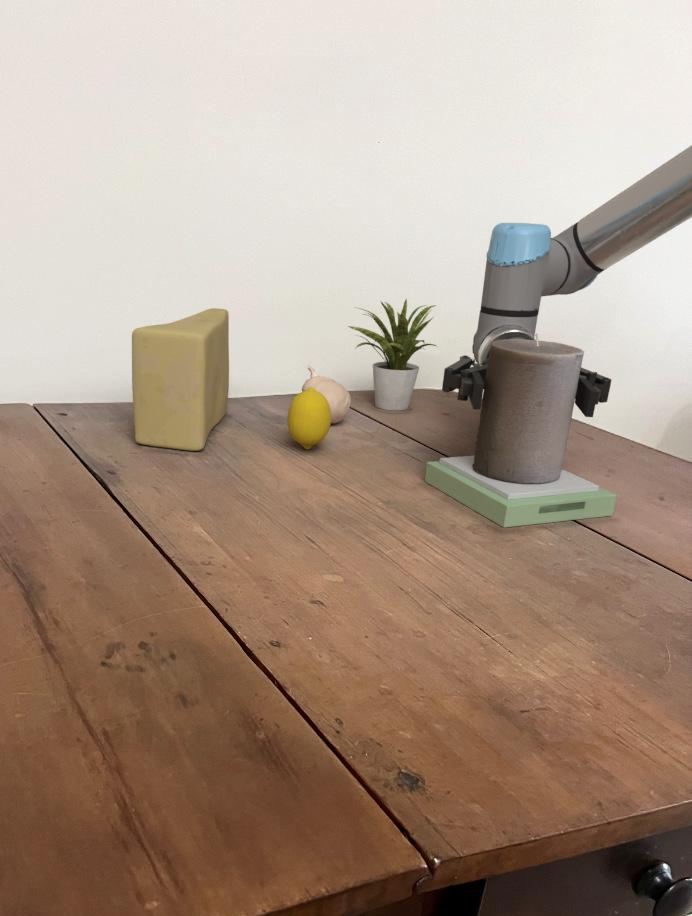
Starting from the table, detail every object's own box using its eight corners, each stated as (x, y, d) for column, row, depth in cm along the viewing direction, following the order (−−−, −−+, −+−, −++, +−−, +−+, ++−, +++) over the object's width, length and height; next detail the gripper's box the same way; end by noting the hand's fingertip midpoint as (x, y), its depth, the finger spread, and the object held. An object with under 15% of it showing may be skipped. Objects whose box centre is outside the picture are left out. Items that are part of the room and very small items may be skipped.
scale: (612, 515, 99) (618, 489, 98) (503, 528, 95) (508, 500, 93) (523, 472, 113) (527, 448, 112) (424, 481, 108) (427, 456, 107)
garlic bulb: (327, 415, 136) (331, 360, 133) (356, 425, 131) (361, 368, 128) (292, 420, 132) (295, 364, 129) (321, 431, 128) (325, 373, 124)
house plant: (383, 390, 153) (393, 288, 146) (455, 405, 144) (470, 297, 137) (330, 403, 143) (338, 293, 136) (404, 420, 135) (416, 304, 128)
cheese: (191, 408, 137) (192, 303, 131) (253, 415, 135) (257, 309, 128) (130, 445, 118) (128, 325, 112) (201, 453, 116) (203, 331, 109)
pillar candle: (459, 473, 101) (479, 334, 95) (488, 454, 109) (508, 323, 103) (547, 490, 97) (574, 345, 90) (571, 469, 104) (597, 333, 98)
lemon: (304, 457, 116) (308, 394, 112) (277, 447, 120) (280, 385, 116) (337, 451, 119) (342, 389, 115) (309, 441, 123) (313, 381, 119)
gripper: (601, 397, 115) (643, 443, 96) (414, 385, 118) (417, 428, 98) (613, 336, 112) (659, 370, 92) (421, 325, 115) (425, 356, 95)
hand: (534, 400), depth 95 cm, fingers open, 11 cm apart
